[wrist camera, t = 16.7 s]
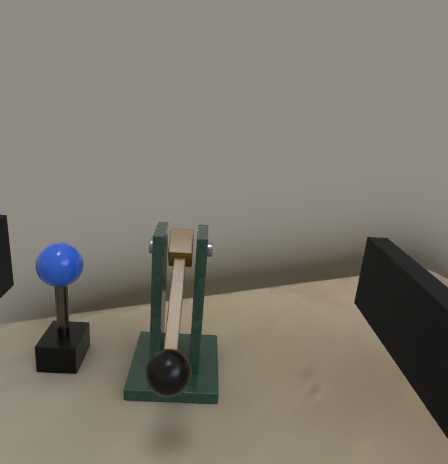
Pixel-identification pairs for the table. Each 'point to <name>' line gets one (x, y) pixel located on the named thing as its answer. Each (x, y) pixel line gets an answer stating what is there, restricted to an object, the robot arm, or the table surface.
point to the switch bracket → (191, 345)
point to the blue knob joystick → (61, 312)
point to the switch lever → (173, 324)
